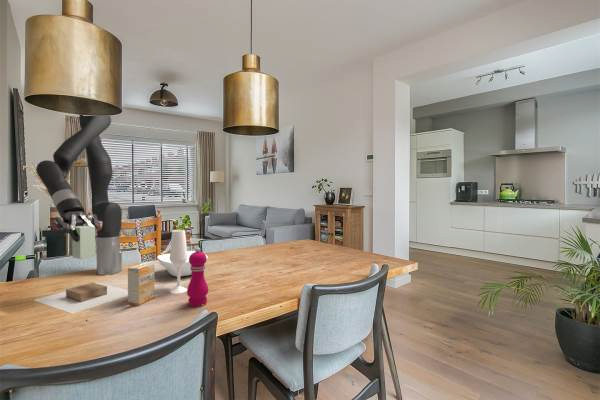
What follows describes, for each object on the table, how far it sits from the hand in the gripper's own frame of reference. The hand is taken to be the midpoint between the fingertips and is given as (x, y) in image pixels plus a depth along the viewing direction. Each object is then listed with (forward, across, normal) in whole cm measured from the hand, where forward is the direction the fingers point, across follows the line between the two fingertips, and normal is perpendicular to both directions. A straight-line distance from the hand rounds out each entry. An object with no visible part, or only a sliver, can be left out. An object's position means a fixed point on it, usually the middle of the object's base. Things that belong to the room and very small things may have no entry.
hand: (86, 239), depth 110 cm
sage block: (+3, 0, +6) cm, 7 cm away
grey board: (+15, 0, +16) cm, 22 cm away
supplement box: (+28, +8, +3) cm, 30 cm away
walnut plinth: (+14, 0, +16) cm, 21 cm away
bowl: (+19, +39, +13) cm, 46 cm away
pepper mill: (+42, +17, -10) cm, 46 cm away
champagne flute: (+30, +23, +1) cm, 38 cm away
